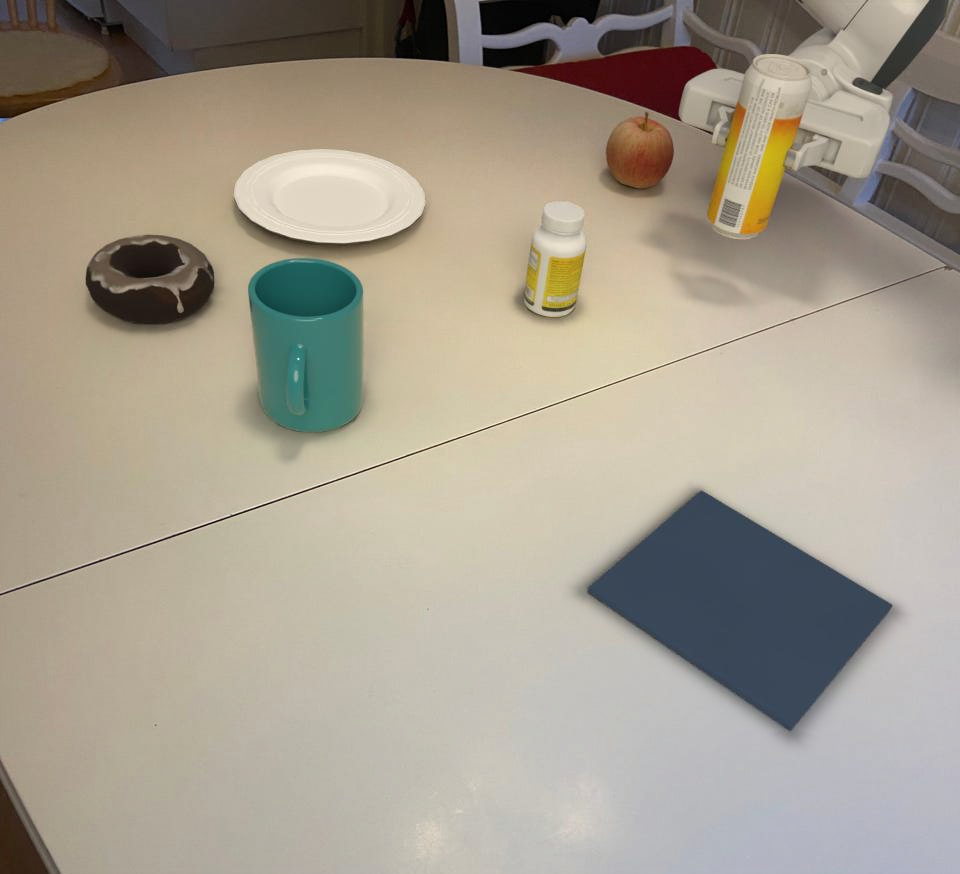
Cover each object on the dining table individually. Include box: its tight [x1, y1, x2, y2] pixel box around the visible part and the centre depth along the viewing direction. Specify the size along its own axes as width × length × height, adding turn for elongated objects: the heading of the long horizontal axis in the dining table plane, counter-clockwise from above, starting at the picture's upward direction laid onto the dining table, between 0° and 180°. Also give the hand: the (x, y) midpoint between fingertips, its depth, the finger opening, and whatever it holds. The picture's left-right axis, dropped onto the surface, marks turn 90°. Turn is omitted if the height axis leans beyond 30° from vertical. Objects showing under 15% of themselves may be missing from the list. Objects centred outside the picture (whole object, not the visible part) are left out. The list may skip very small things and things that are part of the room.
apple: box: [605, 111, 675, 189], centre depth 114 cm, size 8×8×8 cm
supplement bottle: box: [523, 200, 588, 318], centre depth 94 cm, size 5×5×10 cm
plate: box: [233, 148, 427, 246], centre depth 106 cm, size 21×21×2 cm
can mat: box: [587, 489, 893, 731], centre depth 74 cm, size 18×16×1 cm
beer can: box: [706, 53, 812, 240], centre depth 92 cm, size 6×6×15 cm
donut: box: [85, 234, 215, 325], centre depth 91 cm, size 12×12×4 cm
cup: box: [247, 257, 365, 433], centre depth 79 cm, size 9×12×11 cm
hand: (755, 149), depth 91 cm, fingers closed on beer can, 6 cm apart
